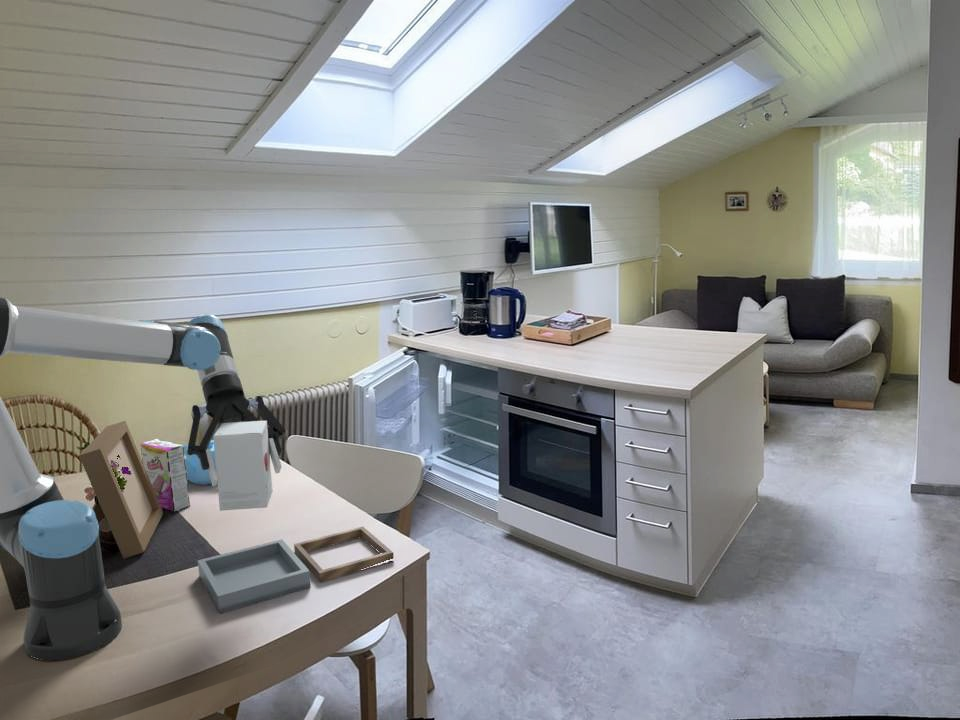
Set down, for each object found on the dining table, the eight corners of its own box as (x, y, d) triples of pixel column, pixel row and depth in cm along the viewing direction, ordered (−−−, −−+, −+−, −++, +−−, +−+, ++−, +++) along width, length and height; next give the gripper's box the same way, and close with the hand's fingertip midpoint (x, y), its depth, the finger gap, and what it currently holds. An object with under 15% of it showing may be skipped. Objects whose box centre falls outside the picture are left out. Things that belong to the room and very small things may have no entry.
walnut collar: (320, 582, 150) (319, 573, 150) (294, 552, 164) (294, 544, 163) (393, 561, 158) (393, 552, 158) (363, 534, 172) (362, 526, 171)
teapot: (179, 490, 202) (175, 452, 200) (185, 472, 217) (181, 436, 214) (239, 484, 206) (235, 446, 204) (241, 466, 220) (237, 430, 218)
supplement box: (267, 508, 143) (261, 432, 140) (219, 512, 142) (211, 435, 139) (274, 491, 152) (268, 419, 149) (228, 494, 151) (221, 422, 148)
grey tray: (219, 613, 140) (217, 596, 139) (199, 576, 154) (197, 560, 153) (310, 587, 148) (309, 570, 148) (283, 554, 163) (282, 539, 162)
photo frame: (163, 516, 185) (150, 418, 180) (144, 556, 164) (128, 446, 159) (98, 524, 182) (83, 424, 177) (70, 565, 161) (52, 453, 156)
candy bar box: (146, 504, 193) (138, 443, 190) (163, 498, 197) (156, 437, 194) (173, 513, 187) (166, 449, 184) (191, 506, 191) (184, 444, 188)
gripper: (275, 384, 163) (304, 473, 153) (158, 401, 151) (181, 498, 141) (281, 364, 158) (311, 454, 148) (159, 380, 145) (183, 479, 136)
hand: (247, 476), depth 144 cm, fingers closed on supplement box, 11 cm apart
